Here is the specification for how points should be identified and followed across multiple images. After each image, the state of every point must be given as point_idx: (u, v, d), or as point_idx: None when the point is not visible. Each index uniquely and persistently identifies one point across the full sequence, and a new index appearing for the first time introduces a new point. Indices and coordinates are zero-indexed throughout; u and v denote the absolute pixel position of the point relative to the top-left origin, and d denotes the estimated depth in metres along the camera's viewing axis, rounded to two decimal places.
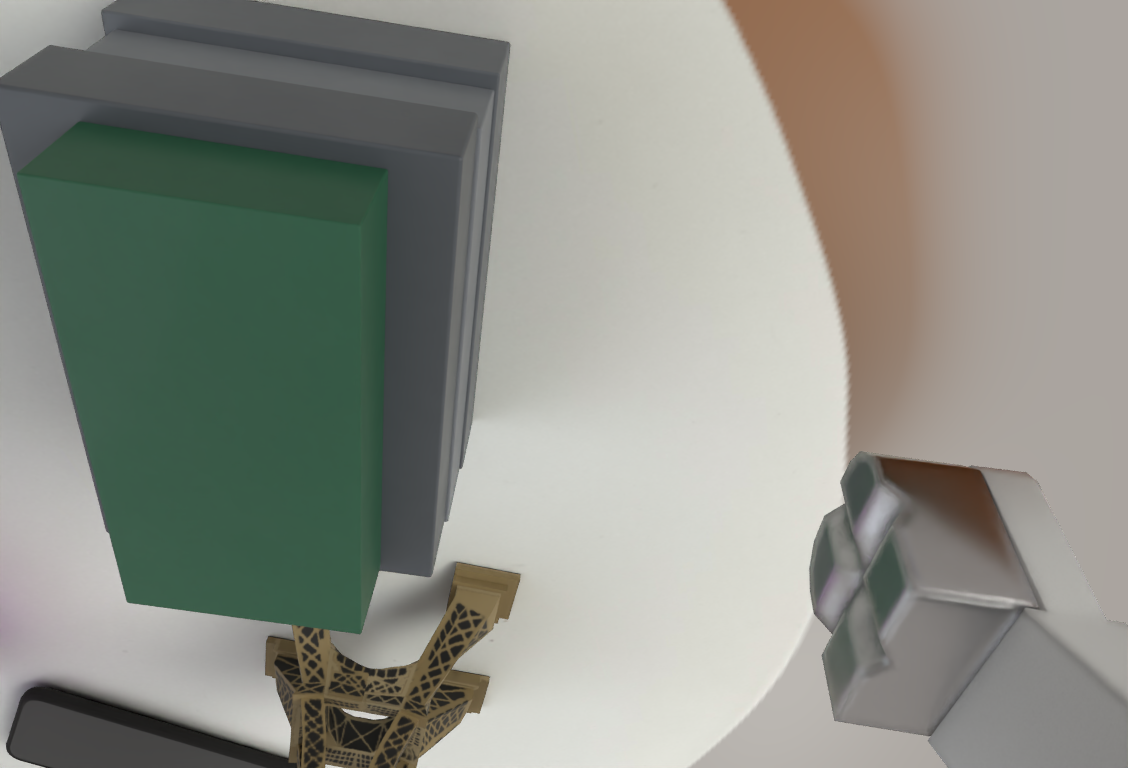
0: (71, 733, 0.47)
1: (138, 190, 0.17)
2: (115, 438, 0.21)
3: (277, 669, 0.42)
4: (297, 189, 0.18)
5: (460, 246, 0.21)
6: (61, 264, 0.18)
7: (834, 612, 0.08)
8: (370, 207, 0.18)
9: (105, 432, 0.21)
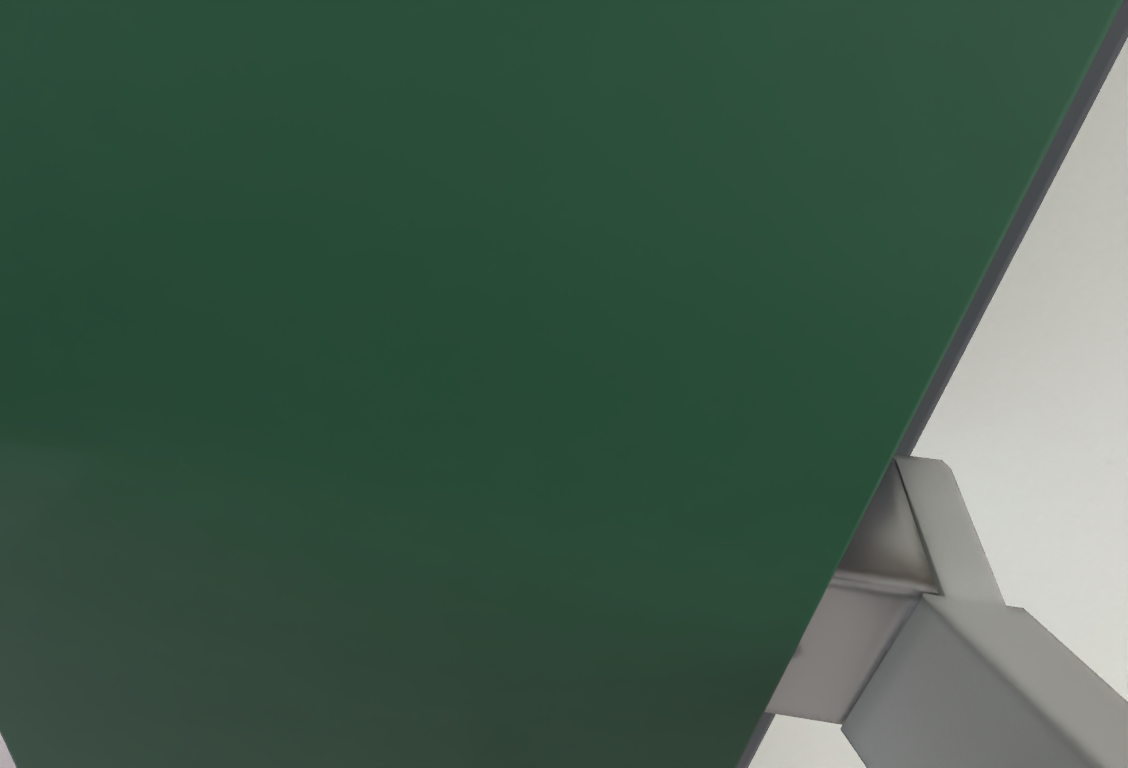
0: None
1: None
2: (25, 583, 0.07)
3: None
4: None
5: None
6: None
7: None
8: None
9: None
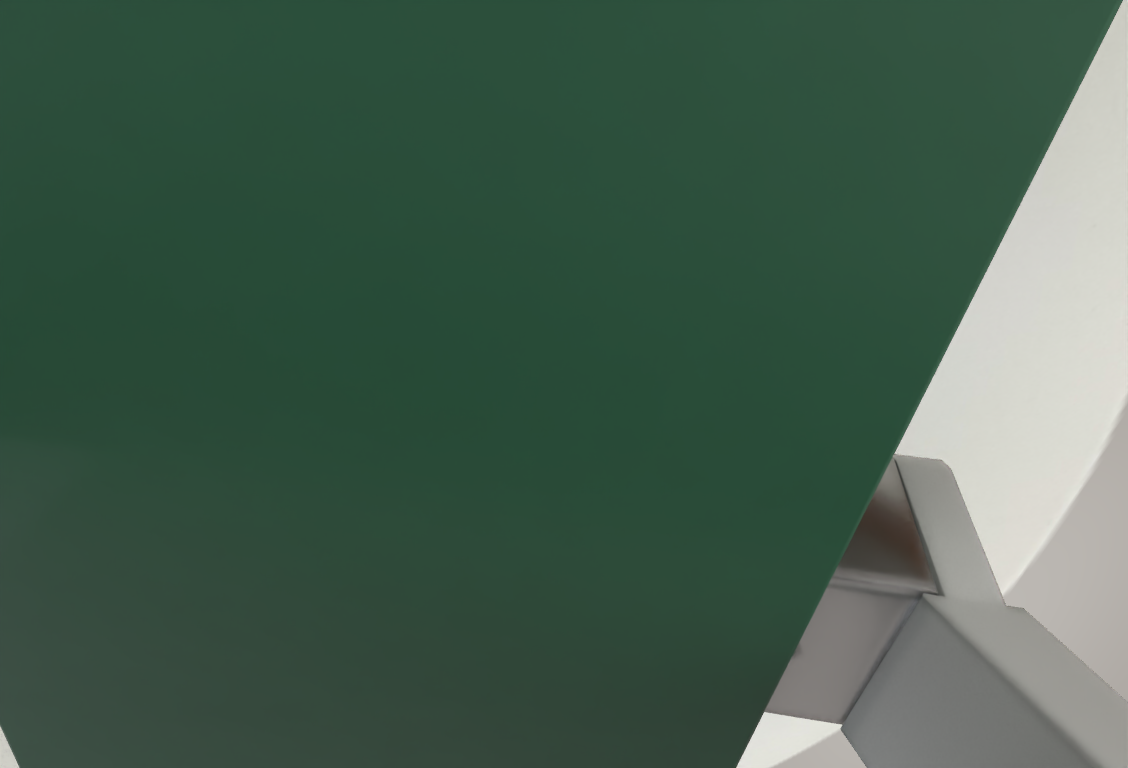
0: None
1: None
2: (27, 581, 0.07)
3: None
4: None
5: None
6: None
7: None
8: None
9: None
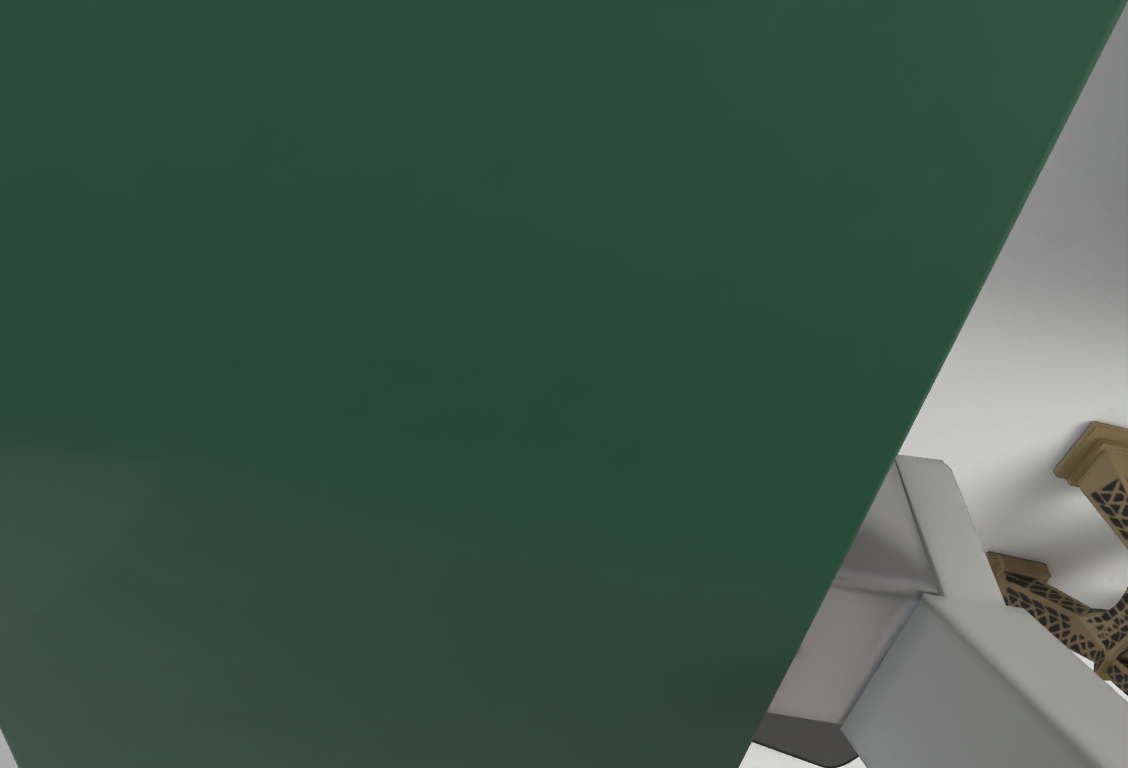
0: None
1: None
2: (28, 586, 0.07)
3: (1013, 585, 0.39)
4: None
5: None
6: None
7: None
8: None
9: None
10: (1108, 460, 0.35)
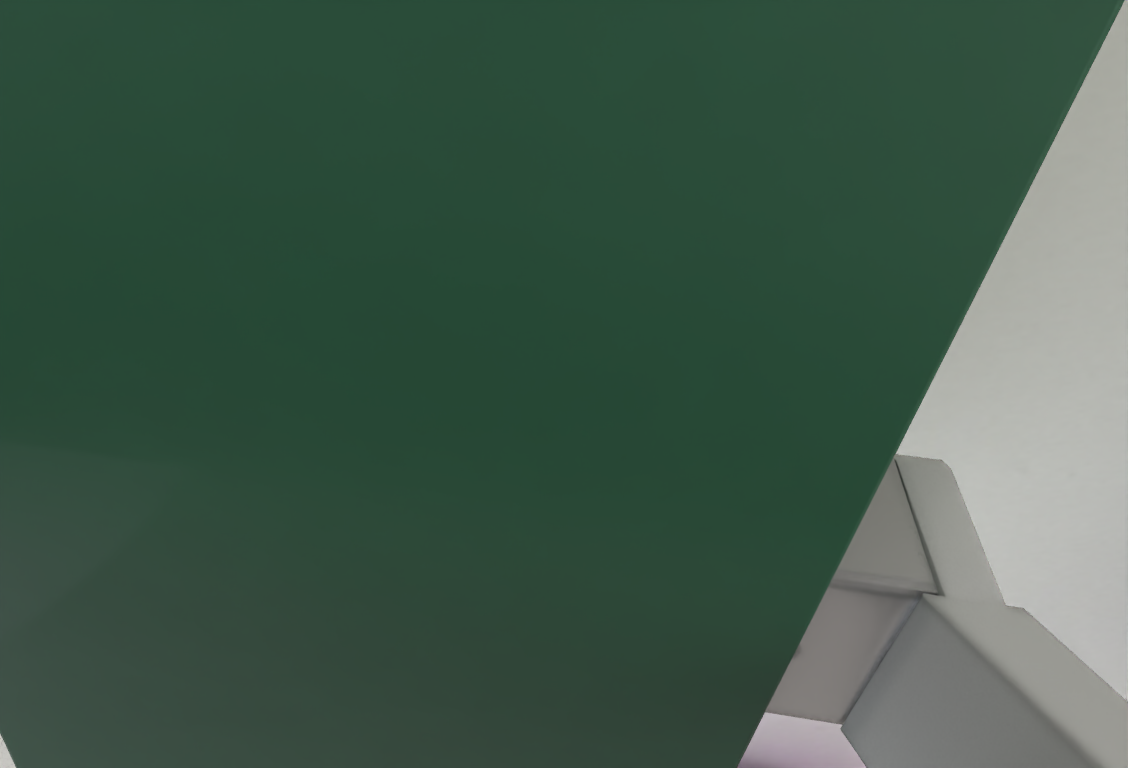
0: None
1: None
2: (26, 587, 0.07)
3: None
4: None
5: None
6: None
7: None
8: None
9: None
10: None
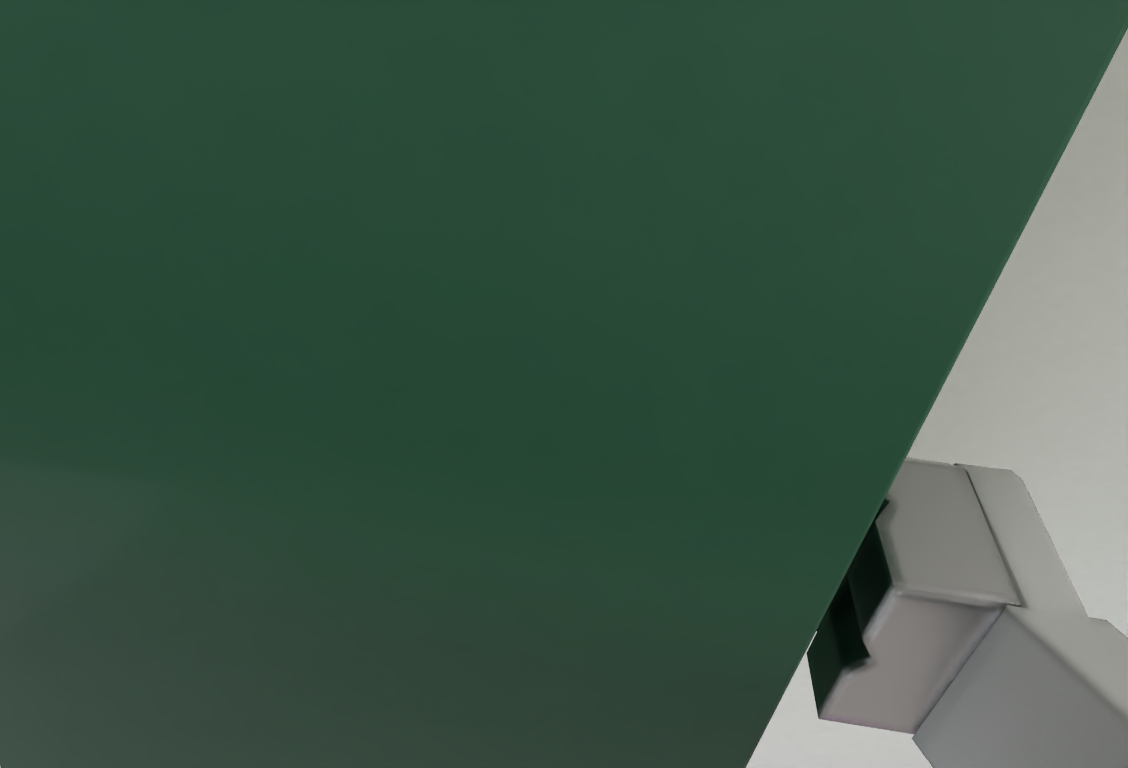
0: None
1: None
2: (15, 600, 0.07)
3: None
4: None
5: None
6: None
7: None
8: None
9: None
10: None
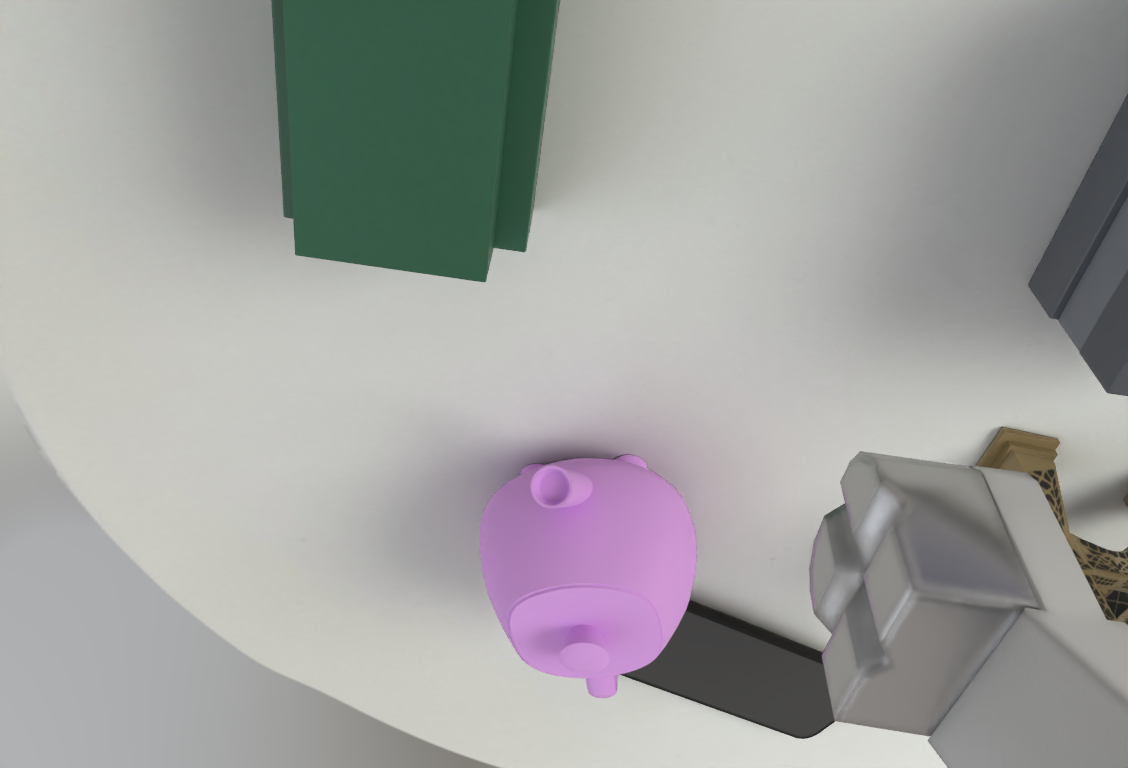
0: (686, 642, 0.51)
1: None
2: (311, 72, 0.27)
3: None
4: None
5: None
6: None
7: (834, 612, 0.08)
8: None
9: (304, 67, 0.27)
10: (1015, 459, 0.42)
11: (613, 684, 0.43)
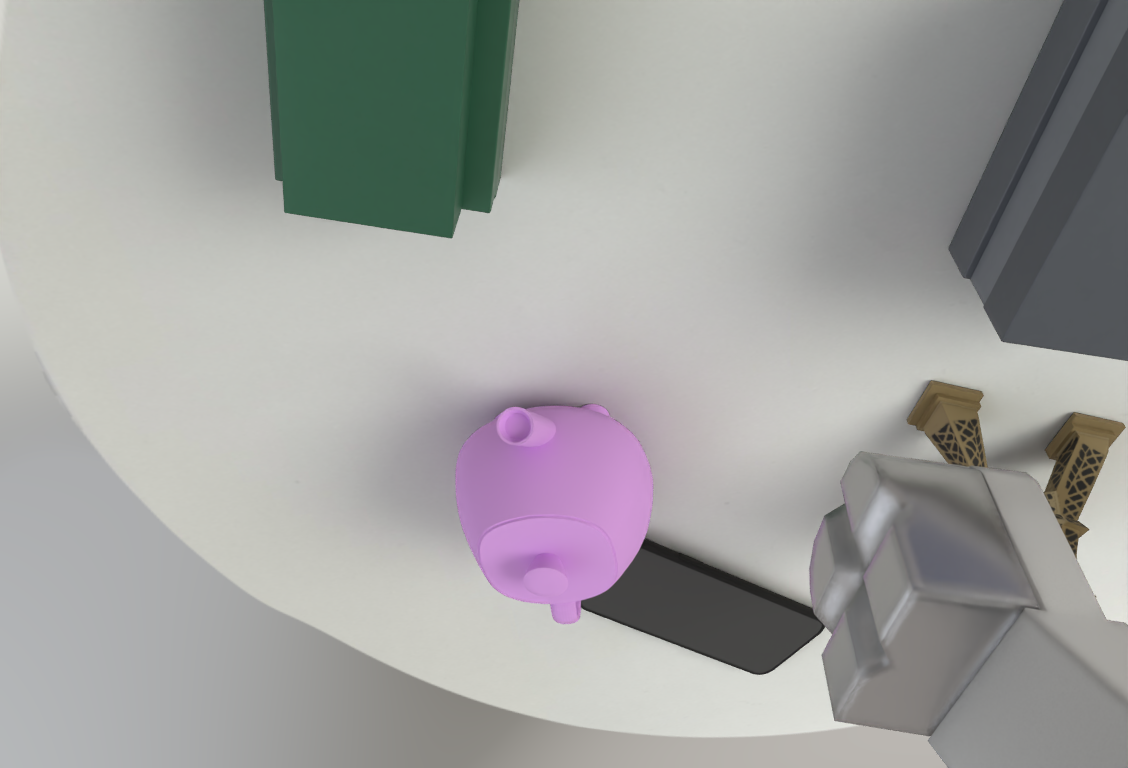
0: (648, 581, 0.56)
1: None
2: (296, 51, 0.31)
3: None
4: None
5: None
6: None
7: (834, 612, 0.08)
8: None
9: (290, 46, 0.31)
10: (942, 409, 0.46)
11: (575, 610, 0.47)
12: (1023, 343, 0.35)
